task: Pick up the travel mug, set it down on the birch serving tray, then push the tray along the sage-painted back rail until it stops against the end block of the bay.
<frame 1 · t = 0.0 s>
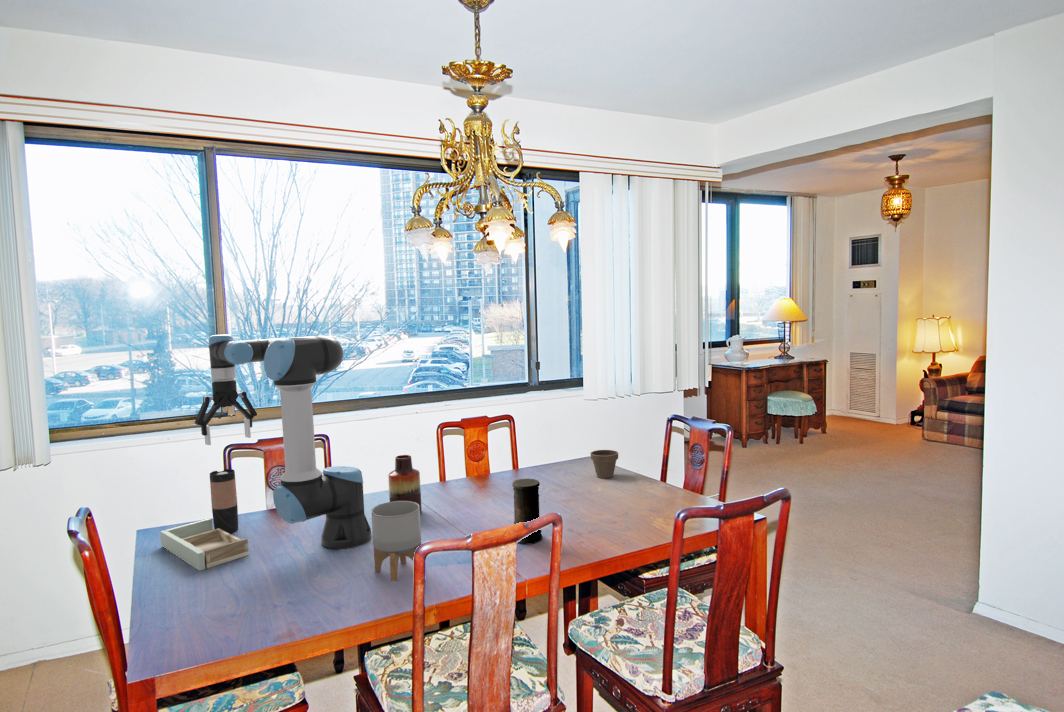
hand: (228, 440, 223), 28 cm above the table, fingers open, 13 cm apart
container: (527, 539, 200), on the table
planter: (398, 571, 179), on the table
tray: (213, 545, 195), point 3 cm above the table, slide at 0.0 cm
travel mug: (226, 531, 215), on the table
bay: (207, 549, 199), on the table
vase: (406, 514, 227), on the table
flower pot: (604, 477, 265), on the table
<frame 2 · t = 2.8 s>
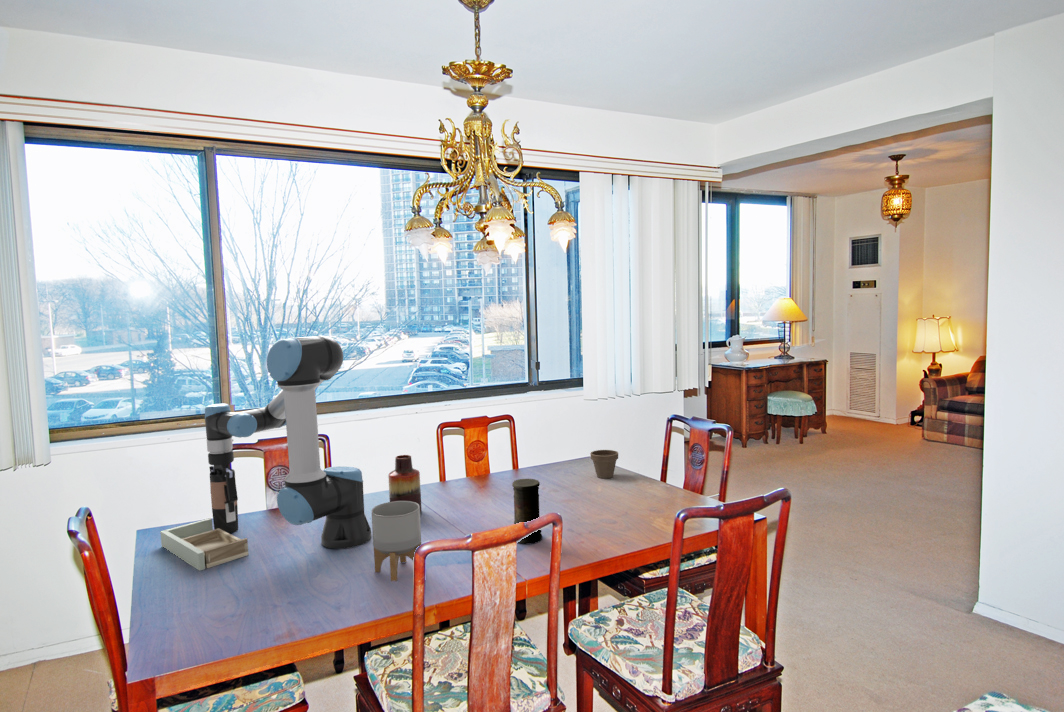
hand: (225, 518, 214), 4 cm above the table, fingers closed on travel mug, 8 cm apart
travel mug: (226, 531, 215), on the table, touching gripper
everything else where it was.
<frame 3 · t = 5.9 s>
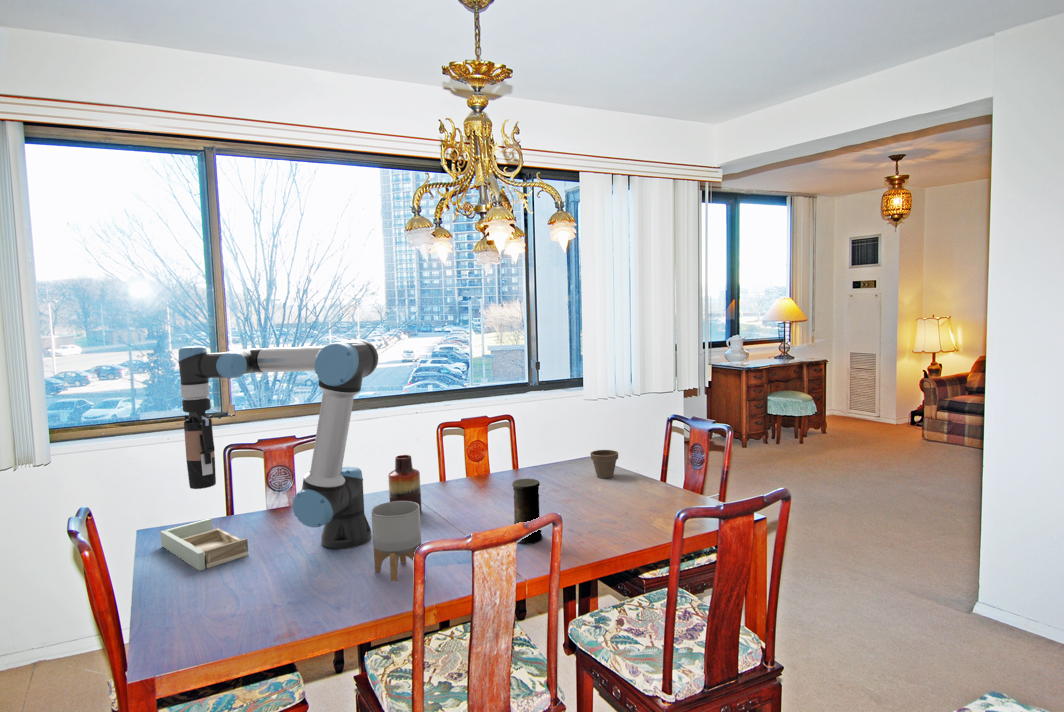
hand: (201, 472, 196), 24 cm above the table, fingers closed on travel mug, 8 cm apart
travel mug: (202, 486, 196), point 20 cm above the table, touching gripper
everything else where it was.
when the fingers open (7 cm above the table, at t = 8.8 s): travel mug drops 2 cm, resting on tray.
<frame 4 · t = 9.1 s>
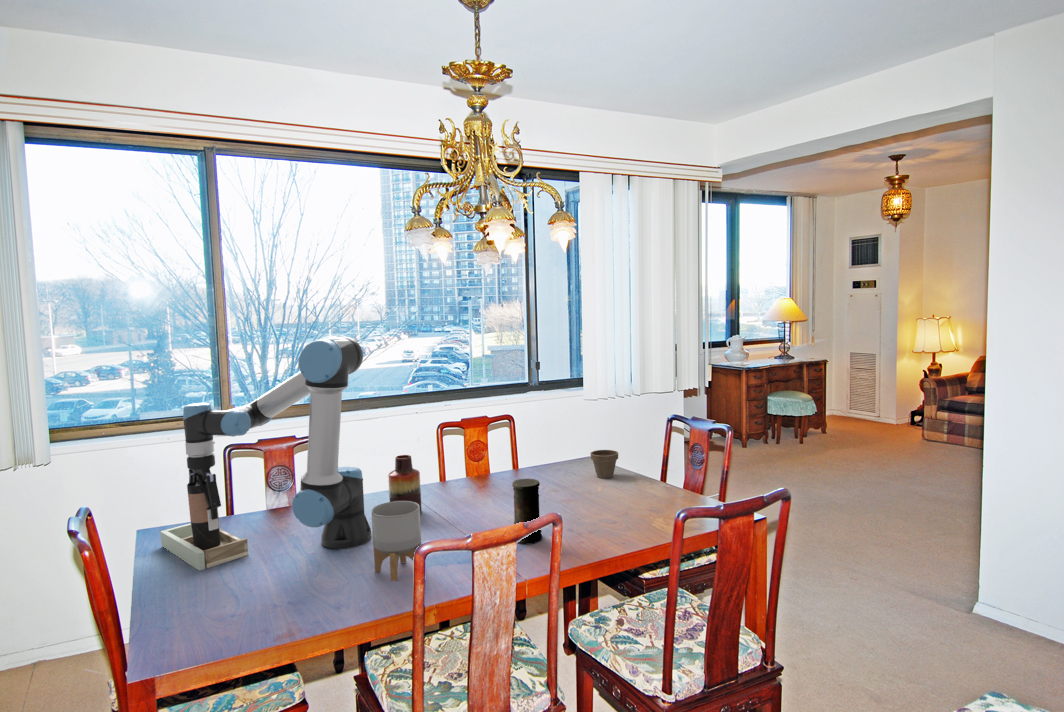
hand: (206, 525, 198), 8 cm above the table, fingers open, 10 cm apart
tray: (212, 545, 196), point 3 cm above the table, slide at 0.1 cm, touching travel mug
travel mug: (207, 546, 198), point 1 cm above the table, touching tray
everything else where it was.
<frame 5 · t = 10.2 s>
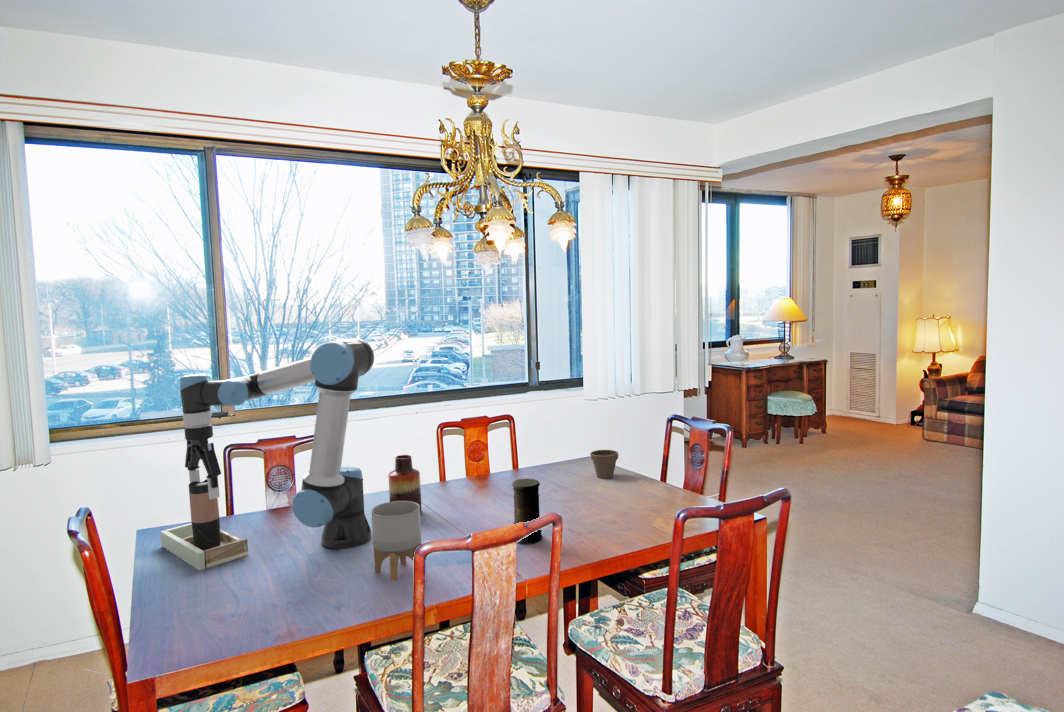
hand: (205, 494, 197), 18 cm above the table, fingers open, 13 cm apart
nothing on the table moved.
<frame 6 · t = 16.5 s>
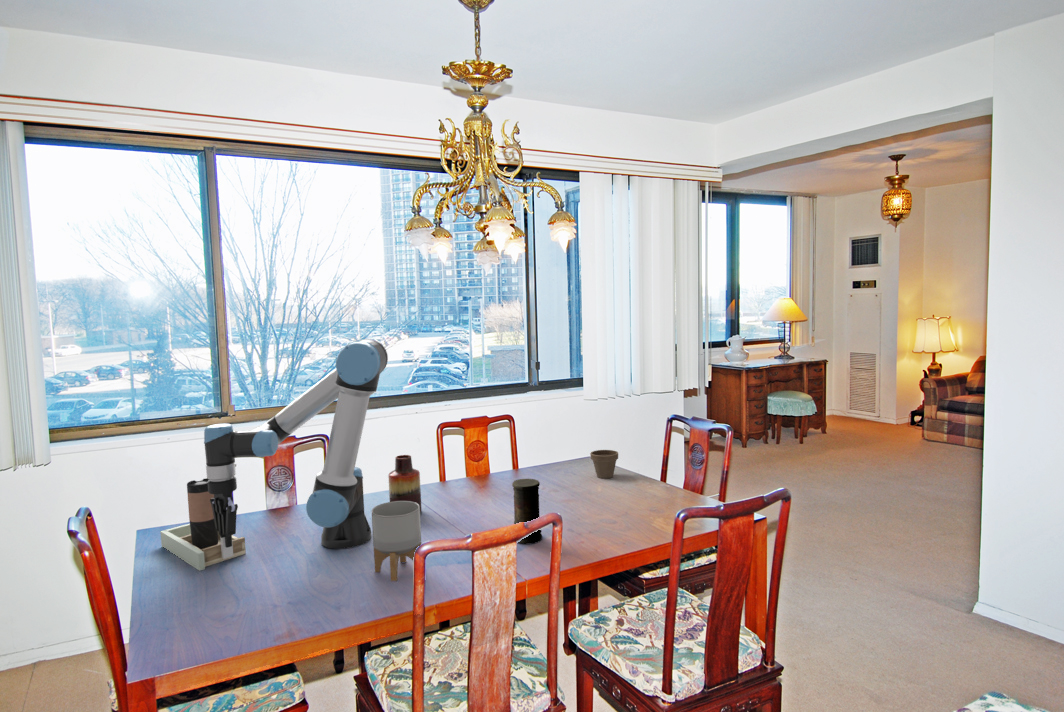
hand: (227, 556, 189), 1 cm above the table, fingers closed
tray: (210, 544, 197), point 2 cm above the table, slide at 1.7 cm, touching gripper, travel mug
travel mug: (205, 545, 199), point 1 cm above the table, touching tray
everything else where it was.
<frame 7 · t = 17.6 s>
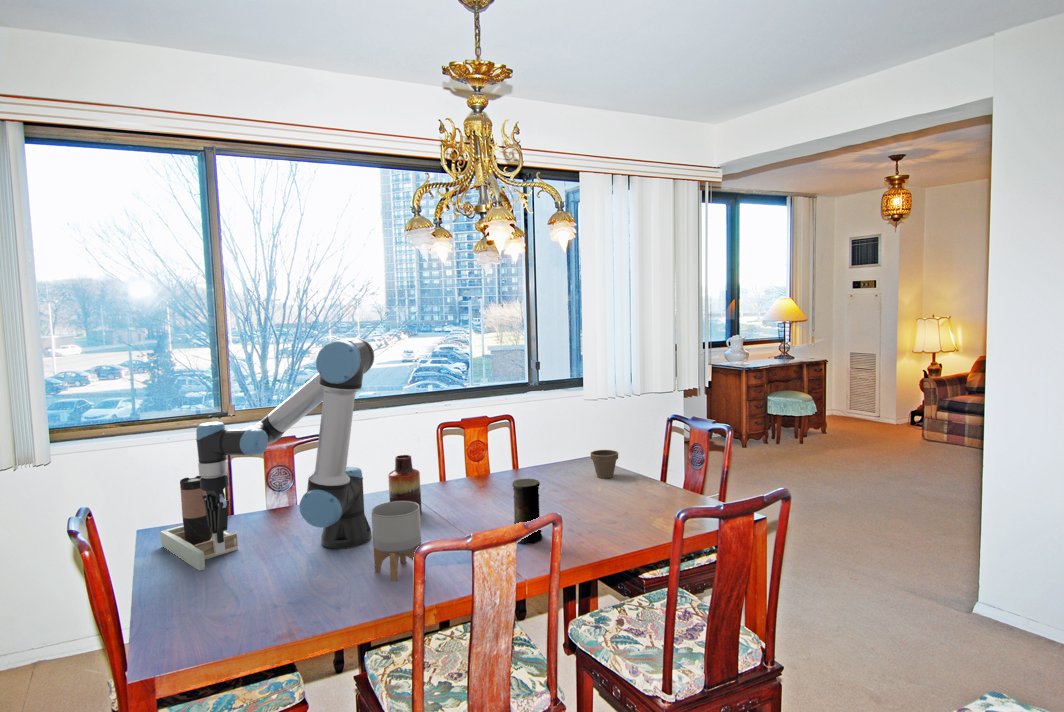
hand: (219, 552, 192), 1 cm above the table, fingers closed
tray: (203, 540, 200), point 2 cm above the table, slide at 7.1 cm, touching gripper, travel mug
travel mug: (198, 541, 203), point 1 cm above the table, touching tray
everything else where it was.
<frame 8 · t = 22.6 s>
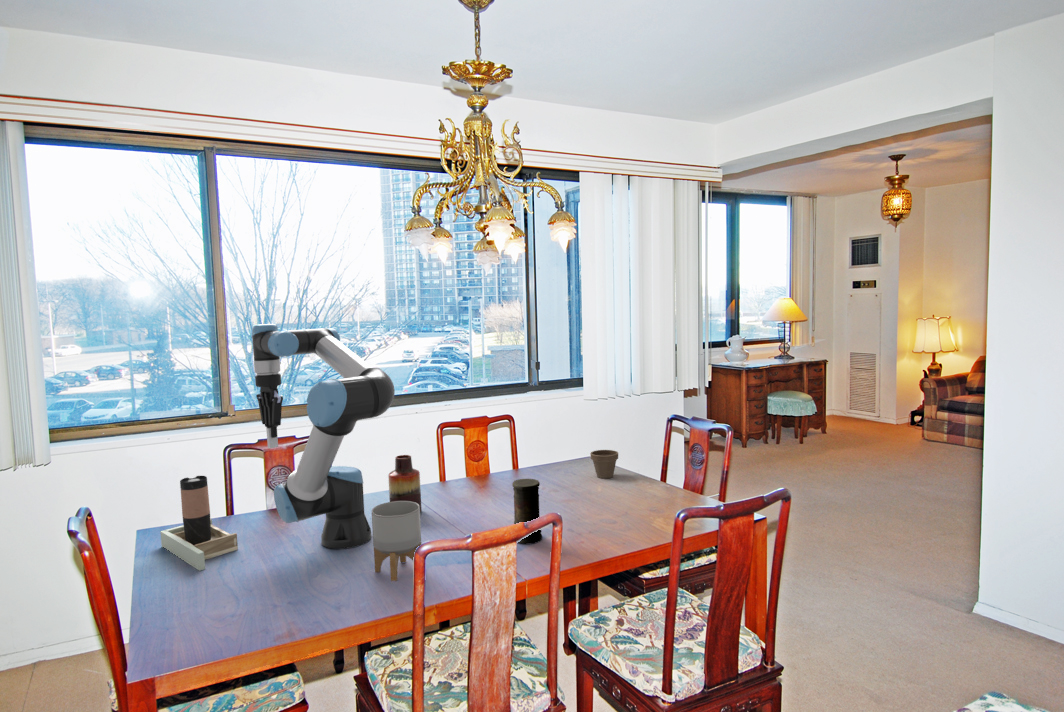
hand: (272, 447, 205), 29 cm above the table, fingers closed
tray: (203, 540, 200), point 3 cm above the table, slide at 7.0 cm, touching travel mug
everything else where it was.
at the end: tray slide at 7.0 cm; travel mug inside the target area on the tray (4.0 cm from its centre), point 1.0 cm above the tray's base; travel mug tilted 0° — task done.
